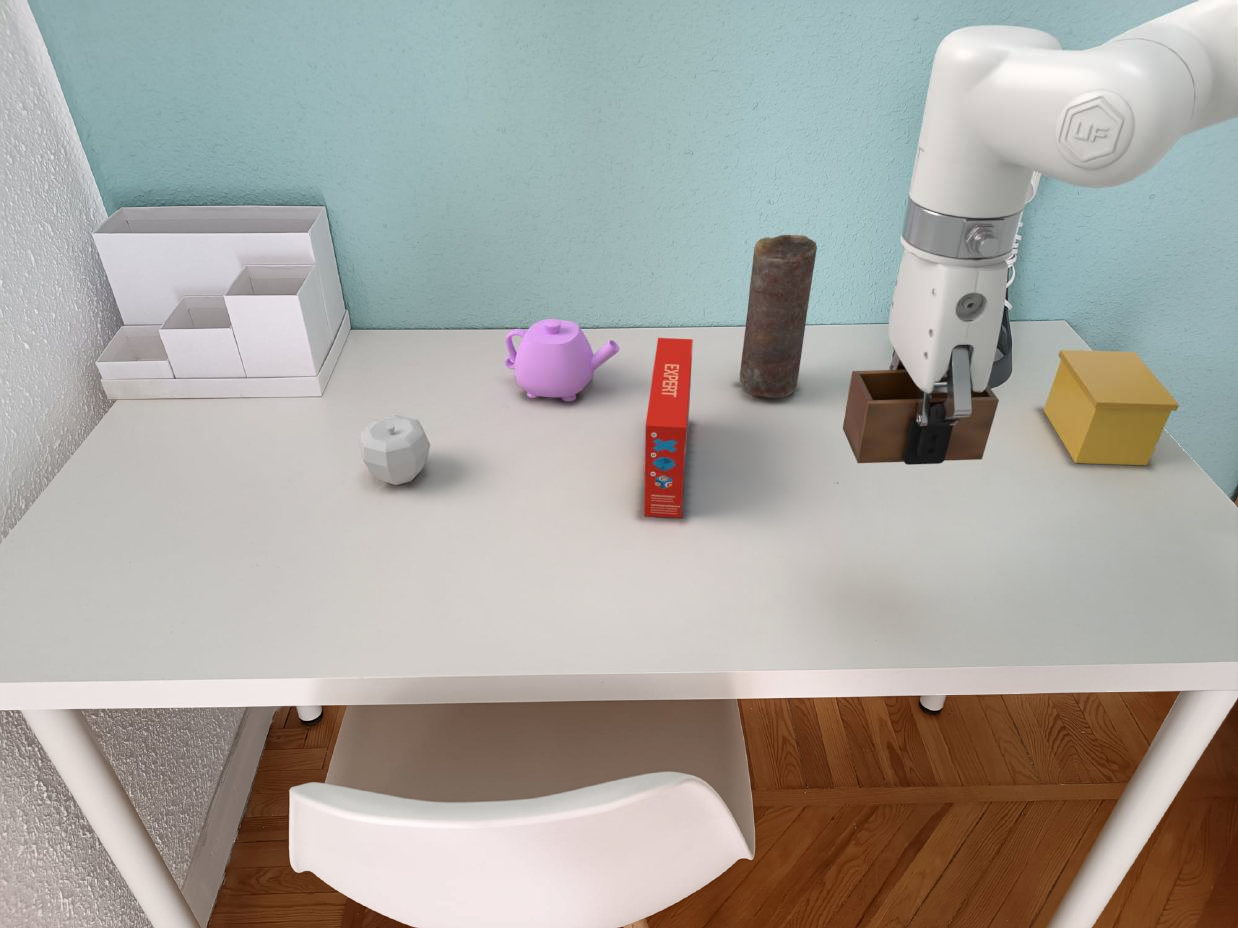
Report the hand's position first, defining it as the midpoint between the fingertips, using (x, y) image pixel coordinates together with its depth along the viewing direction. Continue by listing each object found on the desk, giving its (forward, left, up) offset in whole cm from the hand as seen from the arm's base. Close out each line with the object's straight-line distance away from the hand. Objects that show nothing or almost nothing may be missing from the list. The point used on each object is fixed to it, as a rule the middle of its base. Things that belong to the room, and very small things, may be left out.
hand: (911, 439), depth 71 cm
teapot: (+47, -16, -19) cm, 53 cm away
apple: (+52, +9, -19) cm, 56 cm away
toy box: (+27, -8, -19) cm, 34 cm away
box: (-14, -40, -18) cm, 46 cm away
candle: (+24, -29, -19) cm, 42 cm away
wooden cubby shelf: (0, 0, 0) cm, 0 cm away
